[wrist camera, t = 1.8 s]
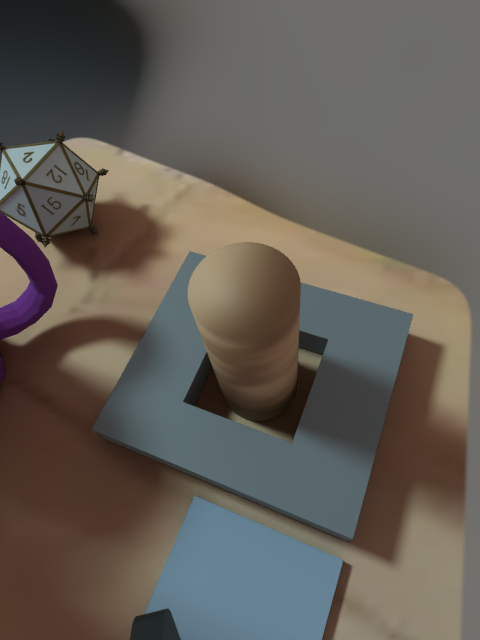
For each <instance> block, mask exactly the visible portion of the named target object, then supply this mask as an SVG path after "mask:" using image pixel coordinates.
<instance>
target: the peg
mask: <svg viewBox="0 0 480 640" xmlns="http://www.w3.org/2000/svg"><path fill="white" fill-rule="evenodd" d="M300 297H301V283H300V278H299V274H298V272H297V270H296V268H295V266H294V265H293V263H292V262H291V261H290V260H289V259H288V257H286V256H285V255H284V254H283V253H281V252H280V251H278V250H277V249H274V248H272V247H270V246H267V245H264V244H259V243H251V242H244V243H235V244H231V245H227V246H224V247H222V248H220V249H217V250H216V251H214V252H212V253H210V254H209V255H208V256H207V257H205V258H204V259H203V260H202V261H201V262H200V263H199V264H198V266H197V267H196V268H195V270H194V272H193V273H192V276H191V278H190V281H189V284H188V302H189V305H190V308H191V311H192V314H193V316H194V319H195V322H196V324H197V327H198V329H199V332H200V335H201V337H202V340H203V343H204V345H205V348H206V351H207V353H208V356H209V359H210V361H211V364H212V366H213V369H214V372H215V374H216V377H217V380H218V382H219V385H220V388H221V390H222V393H223V396H224V398H225V401H226V402H227V404H228V406H229V407H230V408H231V409H232V410H233V411H234V412H235V413H236V414H237V415H239V416H241V417H243V418H245V419H248V420H252V421H266V420H271V419H273V418H276V417H278V416H280V415H281V414H282V413H284V412H285V411H286V410H287V409H288V408H289V407H290V405H291V404H292V402H293V400H294V398H295V395H296V391H297V373H298V348H299V323H300Z"/></svg>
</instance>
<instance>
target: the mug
mask: <svg viewBox="0 0 480 640" xmlns="http://www.w3.org/2000/svg"><path fill="white" fill-rule="evenodd" d="M0 247H1V248H2V249H3V250H4V251H6V252H7V253H8V254H10V255H11V256H12V257H13V258H14V259H15V260H16V261H17V262H18V264H19V265H20V266H21V267H22V269H23V270H24V271H25V272H26V274H27V275H28V278H29V280H30V283H29V285H28V287H27V289H26V290H25V291H24V293H23V294H22V295H21V296H20V297H19V298H18V299H17V300H16V301H15V302H12V303H10V304H8V305H6V306H4V307H1V308H0V340H1V339H4V338H7V337H10V336H13V335H15V334H18V333H20V332H21V331H23V330H24V329H26V328H27V327H29V326H31V325H32V324H34V323H36V322H37V321H38V320H39V319H40V318H41V317H42V316H43V315H44V314H45V313H46V312H47V311H48V310H49V309H50V308H51V307H52V303H53V300H54V296H55V293H56V289H57V282H56V279H55V276H54V274H53V271H52V268H51V266H50V263H49V260H48V259H47V258H46V256H45V255H44V254H43V252H42V251H41V250H40V248H39V247H38V246H37V244H36V243H35V242H34V240H33V239H32V238H31V237H30V236H29V235H27V234H26V233H25V232H24V231H23V230H22V229H20V228H19V227H18V226H17V225H16V224H15V223H13V222H12V221H11V220H10V219H9V218H8V217H7V216H5V215H4V214H3V213H1V212H0ZM4 375H5V369H4V362H3V360H2V358H1V356H0V384H1V381H2V379H3V377H4Z"/></svg>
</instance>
